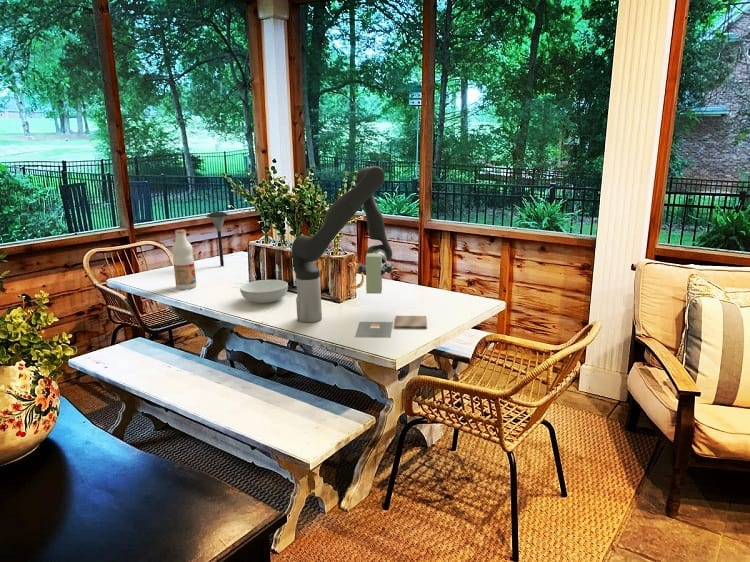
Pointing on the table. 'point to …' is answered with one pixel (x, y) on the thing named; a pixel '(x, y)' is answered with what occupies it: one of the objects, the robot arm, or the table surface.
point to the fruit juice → (183, 262)
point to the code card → (374, 330)
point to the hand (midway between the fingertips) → (373, 272)
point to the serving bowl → (264, 290)
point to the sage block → (373, 273)
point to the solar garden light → (218, 229)
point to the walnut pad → (411, 322)
